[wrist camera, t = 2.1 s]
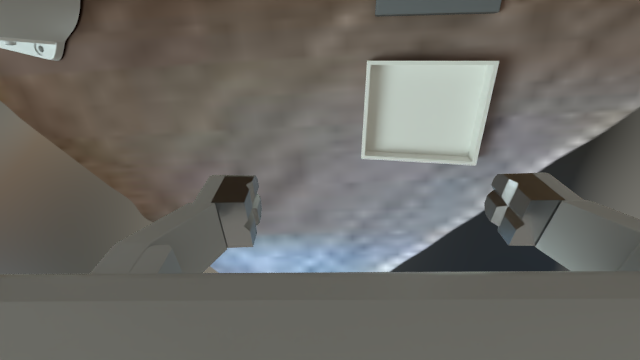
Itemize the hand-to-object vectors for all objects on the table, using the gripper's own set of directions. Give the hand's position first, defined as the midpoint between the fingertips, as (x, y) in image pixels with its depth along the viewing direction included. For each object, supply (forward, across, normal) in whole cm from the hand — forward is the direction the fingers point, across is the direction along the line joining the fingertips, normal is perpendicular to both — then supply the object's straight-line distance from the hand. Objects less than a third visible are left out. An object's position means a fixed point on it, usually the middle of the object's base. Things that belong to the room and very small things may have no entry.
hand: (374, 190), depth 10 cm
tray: (+24, +10, -6) cm, 27 cm away
